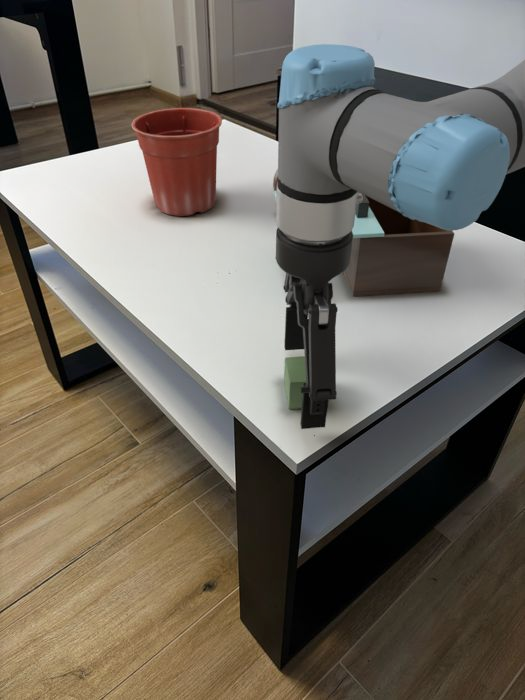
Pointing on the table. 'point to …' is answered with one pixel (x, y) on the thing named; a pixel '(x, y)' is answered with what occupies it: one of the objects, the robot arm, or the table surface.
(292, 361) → the block
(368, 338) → the table surface
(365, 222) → the light blue board
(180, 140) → the flower pot
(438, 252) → the case
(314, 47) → the robot arm
